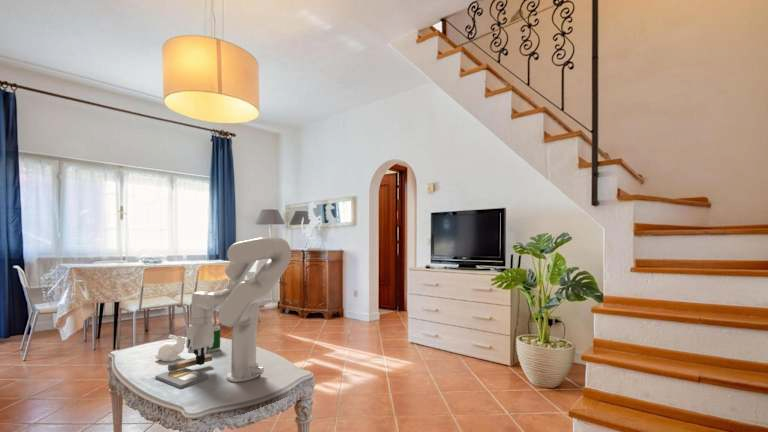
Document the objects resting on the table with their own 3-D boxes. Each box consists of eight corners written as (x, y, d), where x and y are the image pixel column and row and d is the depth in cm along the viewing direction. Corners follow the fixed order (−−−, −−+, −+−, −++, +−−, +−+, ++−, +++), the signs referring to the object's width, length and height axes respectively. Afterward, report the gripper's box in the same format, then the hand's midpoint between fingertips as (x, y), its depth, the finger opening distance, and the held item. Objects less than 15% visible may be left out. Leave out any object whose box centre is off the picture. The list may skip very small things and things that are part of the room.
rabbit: (185, 354, 170) (186, 329, 171) (183, 361, 162) (184, 334, 162) (156, 358, 166) (157, 332, 166) (152, 365, 157) (153, 337, 158)
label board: (208, 378, 143) (208, 372, 143) (180, 388, 133) (180, 382, 133) (182, 369, 152) (182, 364, 152) (155, 378, 142) (155, 372, 142)
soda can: (223, 348, 180) (223, 324, 180) (213, 353, 172) (214, 328, 173) (210, 347, 181) (210, 324, 182) (199, 352, 174) (200, 327, 174)
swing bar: (208, 358, 158) (209, 354, 158) (212, 360, 156) (212, 355, 156) (166, 369, 146) (166, 364, 146) (169, 371, 143) (169, 366, 143)
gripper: (211, 316, 160) (211, 357, 159) (178, 323, 147) (177, 368, 146) (222, 317, 156) (221, 360, 155) (189, 325, 143) (188, 371, 142)
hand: (200, 364), depth 150 cm, fingers closed
